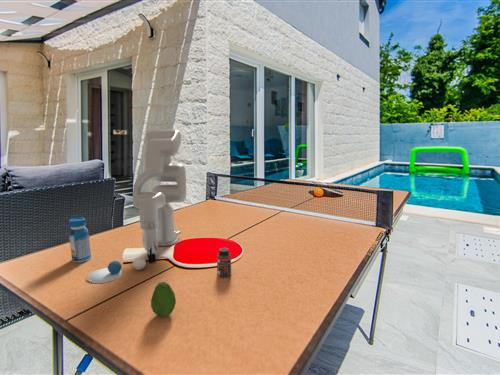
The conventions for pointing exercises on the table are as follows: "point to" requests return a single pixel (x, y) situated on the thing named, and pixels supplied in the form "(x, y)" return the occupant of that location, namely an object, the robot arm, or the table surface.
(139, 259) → the cue ball
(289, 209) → the table surface
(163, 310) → the avocado
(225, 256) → the supplement bottle
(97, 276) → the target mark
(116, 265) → the object ball
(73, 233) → the blue medicine bottle
